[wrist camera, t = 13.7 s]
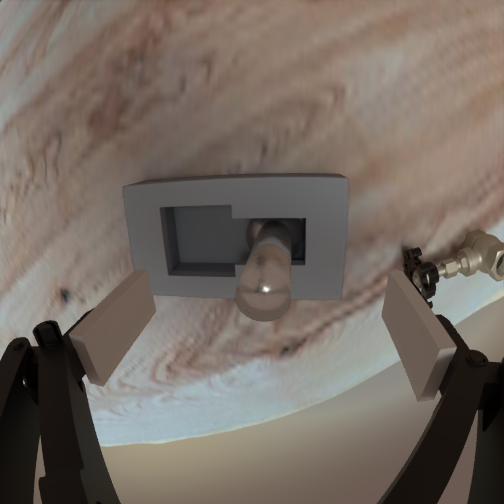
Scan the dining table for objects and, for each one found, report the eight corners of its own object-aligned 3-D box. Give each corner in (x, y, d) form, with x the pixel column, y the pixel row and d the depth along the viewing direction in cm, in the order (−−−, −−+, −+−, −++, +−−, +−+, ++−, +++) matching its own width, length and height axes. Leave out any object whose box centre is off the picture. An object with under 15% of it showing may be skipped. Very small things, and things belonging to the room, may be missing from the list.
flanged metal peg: (237, 233, 29) (197, 297, 16) (273, 193, 27) (258, 230, 15) (277, 267, 30) (266, 351, 17) (313, 230, 28) (331, 296, 15)
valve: (484, 213, 26) (399, 239, 28) (517, 228, 19) (423, 262, 22) (486, 264, 27) (406, 293, 30) (515, 286, 21) (427, 324, 24)
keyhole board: (155, 276, 33) (139, 293, 29) (143, 181, 29) (122, 186, 25) (335, 279, 30) (341, 299, 26) (339, 174, 27) (348, 178, 23)
